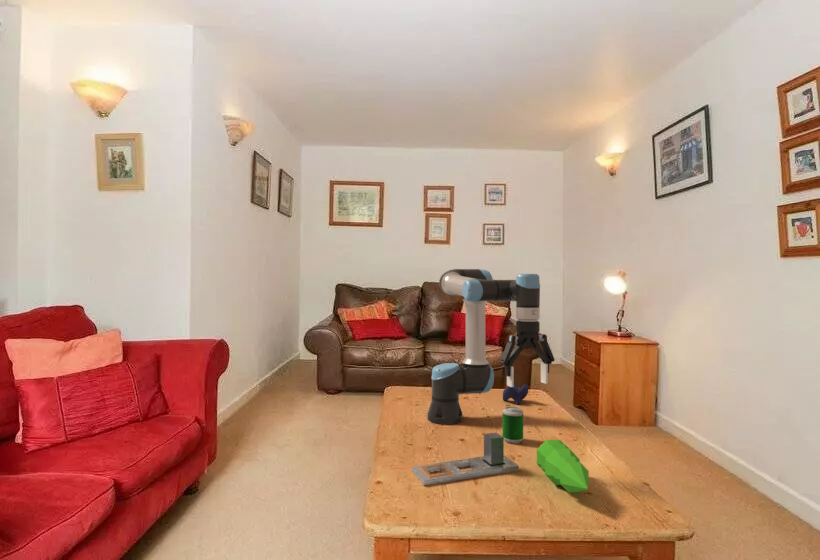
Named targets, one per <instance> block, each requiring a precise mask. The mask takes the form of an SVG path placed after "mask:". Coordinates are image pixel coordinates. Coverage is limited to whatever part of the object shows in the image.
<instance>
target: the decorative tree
mask: <svg viewBox="0 0 820 560" xmlns="http://www.w3.org/2000/svg"><path fill="white" fill-rule="evenodd" d="M536 465H537V466H538V467H539V468H540V469H541V470H542V472H543V473H544V475H545V477H547V478H548V480H550V481H551V482H552V483H553V484H554V486H561V487H563V488H564V490H566V492H568V493H582V492H584V491H587V490H588V488H589V485H590V481H589V480H590V479H589V473H590V471H589V470H588V469H587V467H585V465H583V463H582V462H581V460H580V458H579V457H578V456H577V455H576V454H575V453H574V452H573V450H572V449H571V448H569V447H568V445H567V444H566V443H564V442H563V441H562V440H561V439H546V440H545V441H544V442H542V443H541V444H540V445H539V447H538V448H537V449H536Z"/></svg>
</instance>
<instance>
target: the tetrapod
mask: <svg viewBox="0 0 820 560" xmlns="http://www.w3.org/2000/svg"><path fill="white" fill-rule="evenodd" d="M529 387H530V386H529V385H528V384H527V383H526V384H523V385H522V386H521V387H520V386H518V385H517V383H516V382H515V381H514V387H510V386H507V385H506V387H505V388H504V390H503V392H502V400H503V401H504V402H507V401H508V400H510V399H512V400H513V401H514V403H515V404H516V405H518V406H519V405H521V403H522V401H523V400H524V399H526V397H527V396H528V393H529V389H530V388H529Z"/></svg>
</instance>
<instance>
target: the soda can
mask: <svg viewBox="0 0 820 560" xmlns="http://www.w3.org/2000/svg"><path fill="white" fill-rule="evenodd" d="M502 436H503V437H504V442H506V443H508V444H513V445H514V444H515V445H517V444H520V443H521V442H522V441H523V440H524V411H523V410H522V408H520V407H519V406H506V407H505V408H504V409H503V410H502Z"/></svg>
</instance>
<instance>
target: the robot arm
mask: <svg viewBox="0 0 820 560" xmlns="http://www.w3.org/2000/svg"><path fill="white" fill-rule="evenodd" d="M438 285H439V288H440V290H441V291H442V292H443V293H444V294H446V295H450V296H458V297H459V296H460V297H461V299H462V301H463V302H464V304H465V358H464V359H463V360H462V361H461V362H462V363H461V366H460V365H459V363H455V362H448V363H446V362H445V363H440V364H438V365H435V366H433V368H432V369H431V402H430V405H429V408H428V411H427V414H426V415H427V418H428V419H427V421H428V422H431V423H433V424H439V425H455V424H459V423H462V422H463V419H464V418H463V417H464V415H463V411H462V407H461V404H460V402H459V401H460V397H459V395H469V394H471V395H473V394H479V395H481V394H484V393H489V392H490V391H491V390H492V388H493V386H494V381H495V372H494V368H493V367H492V366H491V365H490V363H489V361H488V360H487V359H486V304H487V303H488V302H516V303H515V304H516V305H515V306H516V307H515V319H516V321H515V329H516V330H515V331H516V335H511V334H509V335H508V336H507V337H508V338H507V343H506V345H505V348H504V351H503V352H502V355H501V357H500V359H499V364H501V365H503V366H504V375H505V377H506V387H507V386H510V387H514V382H515V381H514V379H515V378H514V376H515V373H514V370H515V368H514V366H513V365H514V363H515V361H516V360H517V358H518V357H519V356H520V354H521V353H522V351H524V350H528V349H533V350H534V351H535V353H536V355H537V356H538V357H539V359H540V360H541V363H540V383H543V384H546V385H548V384H549V383H548V382H549V381H548V380H549V373H550V365H551V364H552V363H553V362H555V357H554V354H553V352H552V350H551V348H550V344H549V342H548V335H547V334H544V333H540V330H541V329H540V328H541V327H540V323H541V322H540V321H539V320H540V318H541V317H540V316H541V315H540V309H541V308H540V305H541V304H540V303H541V301H540V300H541V298H540V295H541V293H540V292H541V284H540V276H539V274H537V273H518V274H517V275H516V278H515V279H494V278H493V276H492V274H491V272H490V271H488V270H487V269H480V268H477V269H475V268H472V269H471V268H464V269H462V268H454V269H449V270H447V271H445V272H444V273H443V274H441V275H440V278H439V281H438Z"/></svg>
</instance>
